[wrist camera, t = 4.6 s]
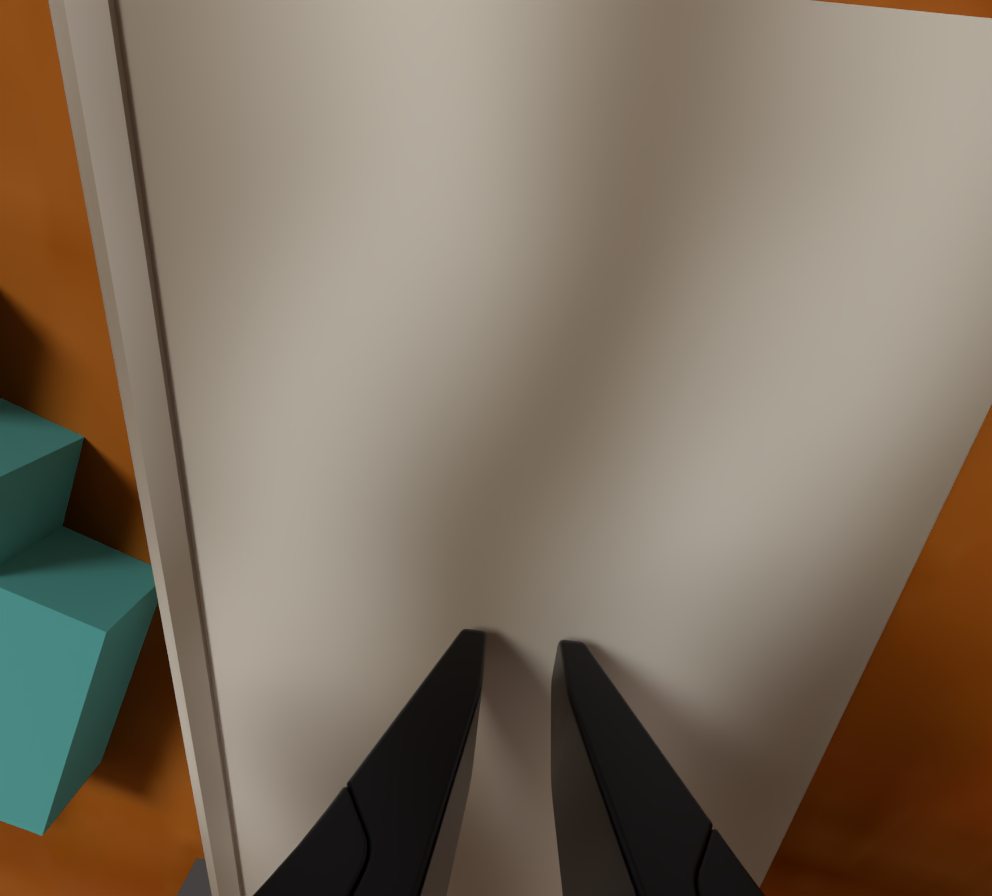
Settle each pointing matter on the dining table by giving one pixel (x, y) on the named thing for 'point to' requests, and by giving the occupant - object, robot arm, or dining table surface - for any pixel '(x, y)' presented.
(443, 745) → the robot arm
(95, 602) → the alien figure
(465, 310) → the white flat slab
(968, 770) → the dining table surface
